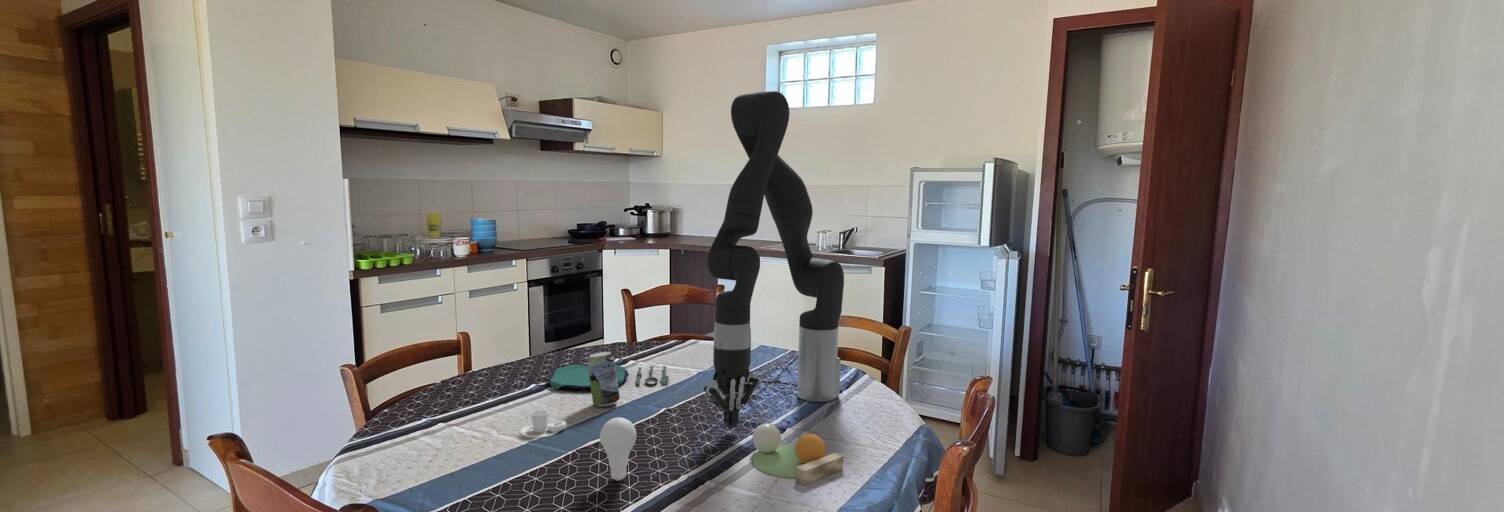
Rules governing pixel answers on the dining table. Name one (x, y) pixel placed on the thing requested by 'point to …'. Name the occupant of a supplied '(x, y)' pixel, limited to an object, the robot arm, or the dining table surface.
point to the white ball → (766, 438)
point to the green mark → (778, 462)
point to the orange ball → (809, 448)
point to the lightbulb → (618, 444)
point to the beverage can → (603, 379)
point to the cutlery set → (580, 379)
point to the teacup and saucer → (542, 424)
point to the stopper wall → (819, 468)
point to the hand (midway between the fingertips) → (730, 426)
